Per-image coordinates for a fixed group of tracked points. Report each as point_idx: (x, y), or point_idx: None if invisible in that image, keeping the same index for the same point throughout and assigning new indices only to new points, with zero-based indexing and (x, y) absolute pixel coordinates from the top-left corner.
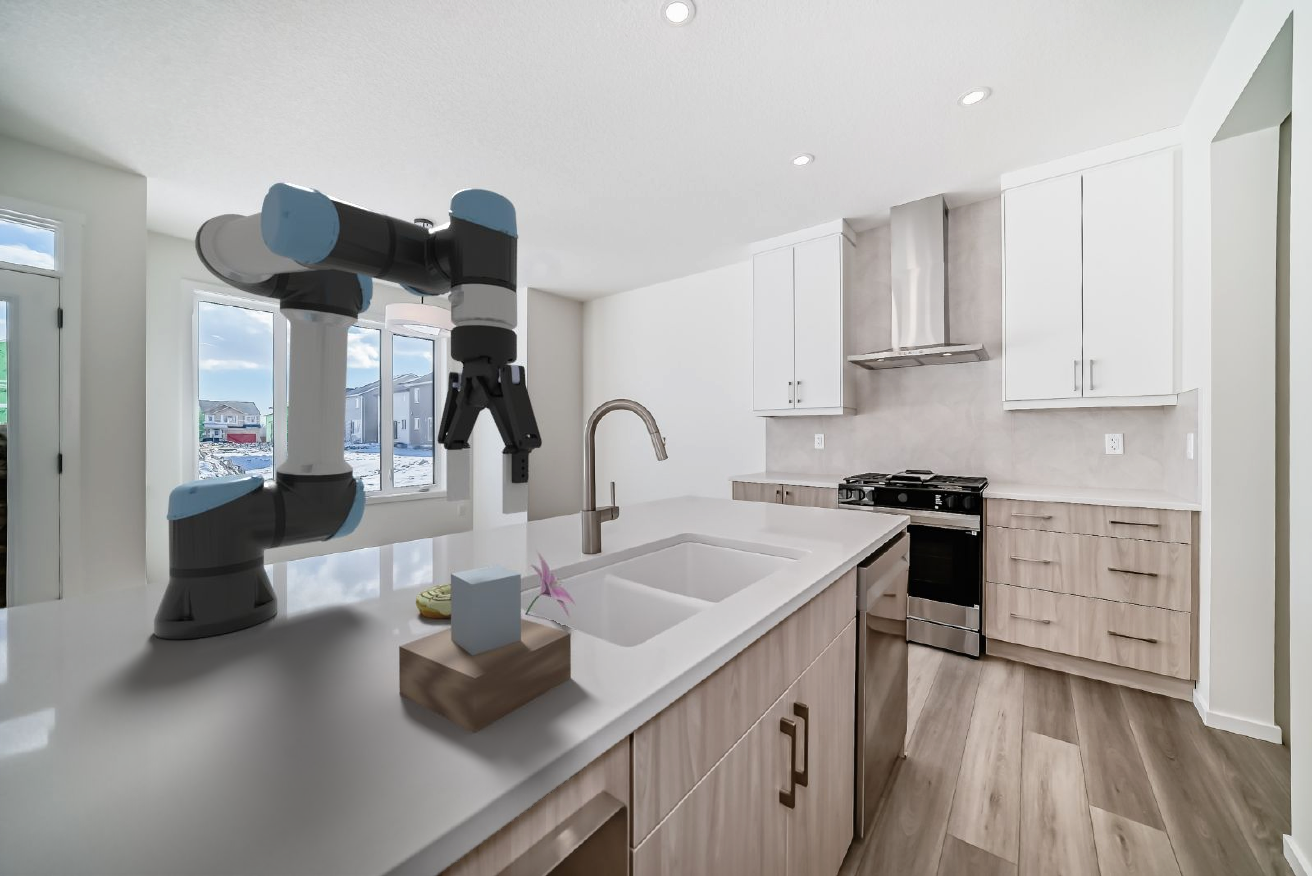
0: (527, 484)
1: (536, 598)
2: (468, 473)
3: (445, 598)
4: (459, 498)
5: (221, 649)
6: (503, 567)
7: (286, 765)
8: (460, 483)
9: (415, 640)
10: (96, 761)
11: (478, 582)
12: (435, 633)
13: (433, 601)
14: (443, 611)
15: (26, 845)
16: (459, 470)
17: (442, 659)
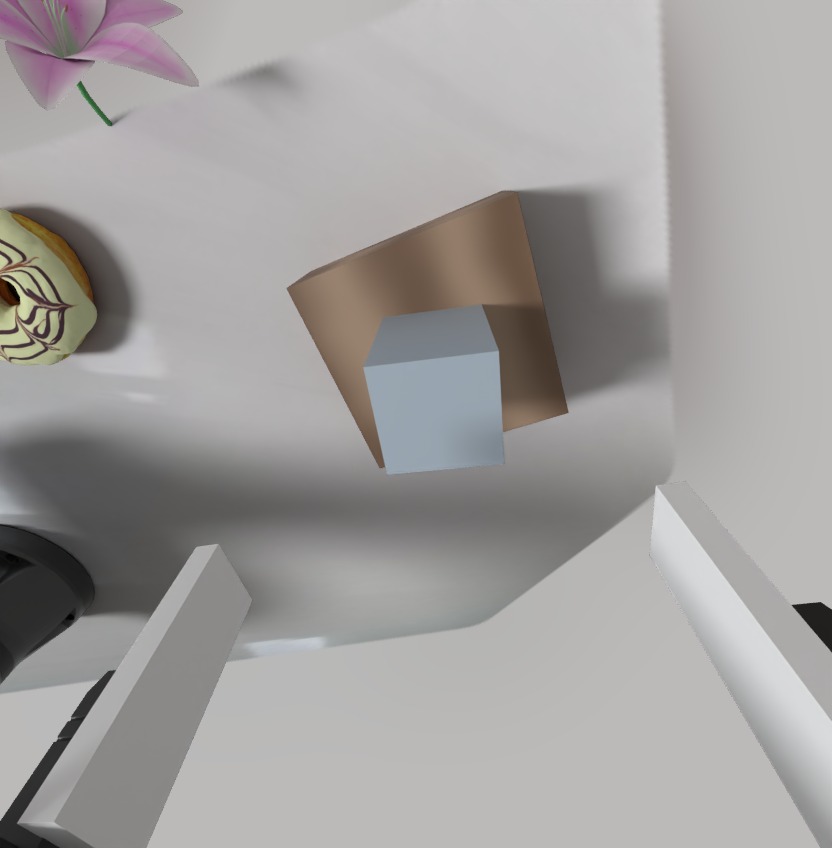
0: (763, 573)
1: (81, 83)
2: (158, 653)
3: (55, 320)
4: (232, 579)
5: (141, 567)
6: (403, 364)
7: (473, 524)
8: (204, 633)
9: (369, 447)
10: (370, 614)
11: (499, 450)
12: (354, 417)
13: (62, 343)
14: (93, 322)
15: (464, 624)
16: (173, 700)
17: None
